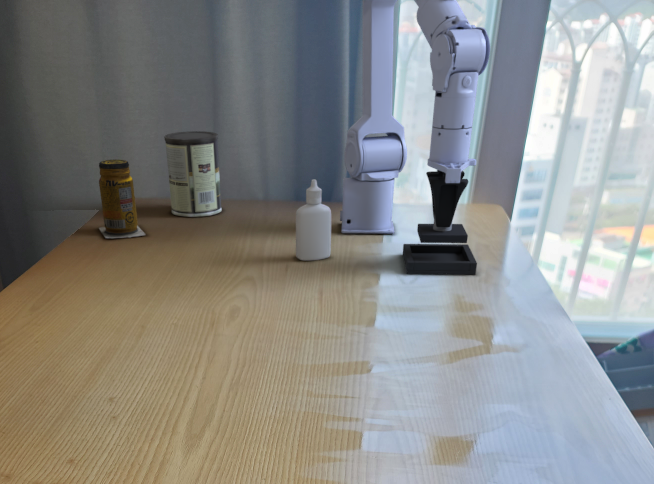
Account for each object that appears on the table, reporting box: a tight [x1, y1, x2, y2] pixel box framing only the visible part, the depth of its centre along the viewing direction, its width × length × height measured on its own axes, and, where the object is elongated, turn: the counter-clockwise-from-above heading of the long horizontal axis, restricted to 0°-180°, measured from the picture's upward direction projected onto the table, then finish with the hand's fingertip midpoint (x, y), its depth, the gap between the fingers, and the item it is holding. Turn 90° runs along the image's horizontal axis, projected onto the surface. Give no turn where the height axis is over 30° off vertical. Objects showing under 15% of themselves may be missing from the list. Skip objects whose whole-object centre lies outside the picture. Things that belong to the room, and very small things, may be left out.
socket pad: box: [402, 243, 478, 276], centre depth 119 cm, size 10×10×2 cm
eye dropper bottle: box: [295, 179, 332, 262], centre depth 120 cm, size 4×6×12 cm
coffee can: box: [163, 130, 223, 218], centre depth 148 cm, size 10×10×14 cm
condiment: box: [98, 159, 146, 239], centre depth 135 cm, size 7×8×12 cm
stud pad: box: [416, 215, 469, 244], centre depth 116 cm, size 7×7×5 cm
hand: (441, 224), depth 116 cm, fingers closed on stud pad, 3 cm apart
